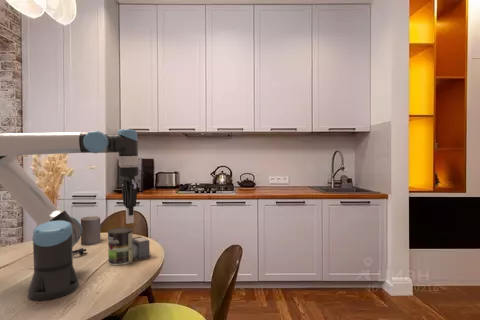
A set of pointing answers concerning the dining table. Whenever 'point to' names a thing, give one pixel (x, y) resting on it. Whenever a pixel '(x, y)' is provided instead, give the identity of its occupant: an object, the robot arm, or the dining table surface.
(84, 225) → the pillar candle
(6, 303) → the dining table surface
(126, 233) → the coffee can
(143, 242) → the box
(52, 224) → the robot arm
